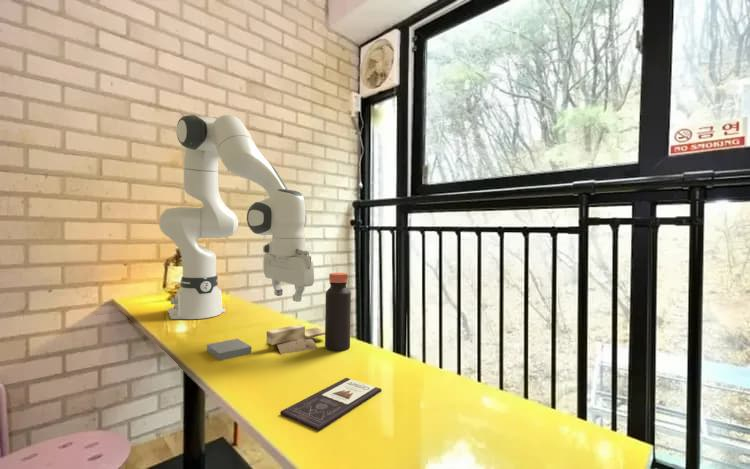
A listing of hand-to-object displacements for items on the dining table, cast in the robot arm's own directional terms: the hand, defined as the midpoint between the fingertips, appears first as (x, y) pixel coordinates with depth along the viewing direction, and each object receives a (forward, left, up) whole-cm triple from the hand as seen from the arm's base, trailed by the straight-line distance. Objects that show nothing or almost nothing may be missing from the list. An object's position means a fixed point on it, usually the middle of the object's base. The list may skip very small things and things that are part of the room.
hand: (287, 298), depth 102 cm
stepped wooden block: (+2, +2, -11) cm, 11 cm away
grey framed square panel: (-9, -14, -12) cm, 21 cm away
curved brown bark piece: (+2, +1, -14) cm, 14 cm away
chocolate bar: (+36, -12, -13) cm, 40 cm away
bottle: (+12, +9, -13) cm, 19 cm away
